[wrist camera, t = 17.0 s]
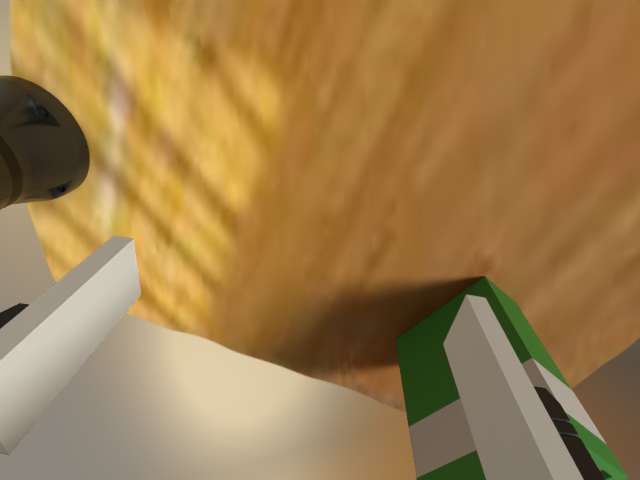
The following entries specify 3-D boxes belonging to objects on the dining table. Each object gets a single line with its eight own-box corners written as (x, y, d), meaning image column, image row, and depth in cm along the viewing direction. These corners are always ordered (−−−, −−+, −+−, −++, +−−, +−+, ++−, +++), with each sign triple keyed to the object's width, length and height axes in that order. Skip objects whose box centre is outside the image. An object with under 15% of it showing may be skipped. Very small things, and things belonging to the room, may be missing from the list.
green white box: (426, 361, 59) (467, 534, 38) (395, 340, 57) (421, 509, 36) (516, 303, 52) (627, 477, 31) (484, 275, 50) (581, 442, 29)
